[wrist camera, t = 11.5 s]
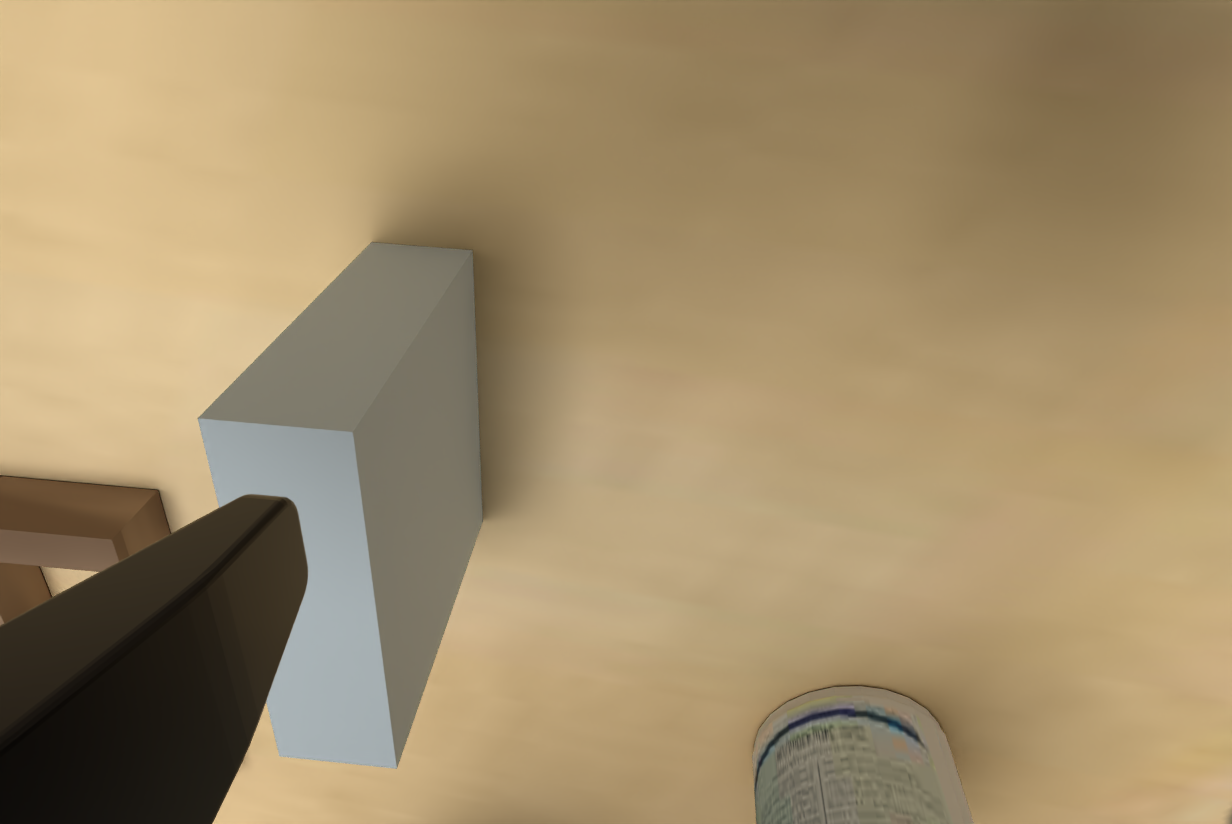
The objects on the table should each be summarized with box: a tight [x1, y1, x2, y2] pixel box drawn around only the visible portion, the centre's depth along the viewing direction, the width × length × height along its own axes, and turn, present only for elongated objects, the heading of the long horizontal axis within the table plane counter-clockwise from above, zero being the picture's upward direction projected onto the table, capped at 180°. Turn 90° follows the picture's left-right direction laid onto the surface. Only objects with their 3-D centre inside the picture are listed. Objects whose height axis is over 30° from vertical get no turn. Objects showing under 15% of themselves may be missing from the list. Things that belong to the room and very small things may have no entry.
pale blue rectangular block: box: [198, 242, 483, 769], centre depth 18 cm, size 8×2×8 cm, turn 177°
